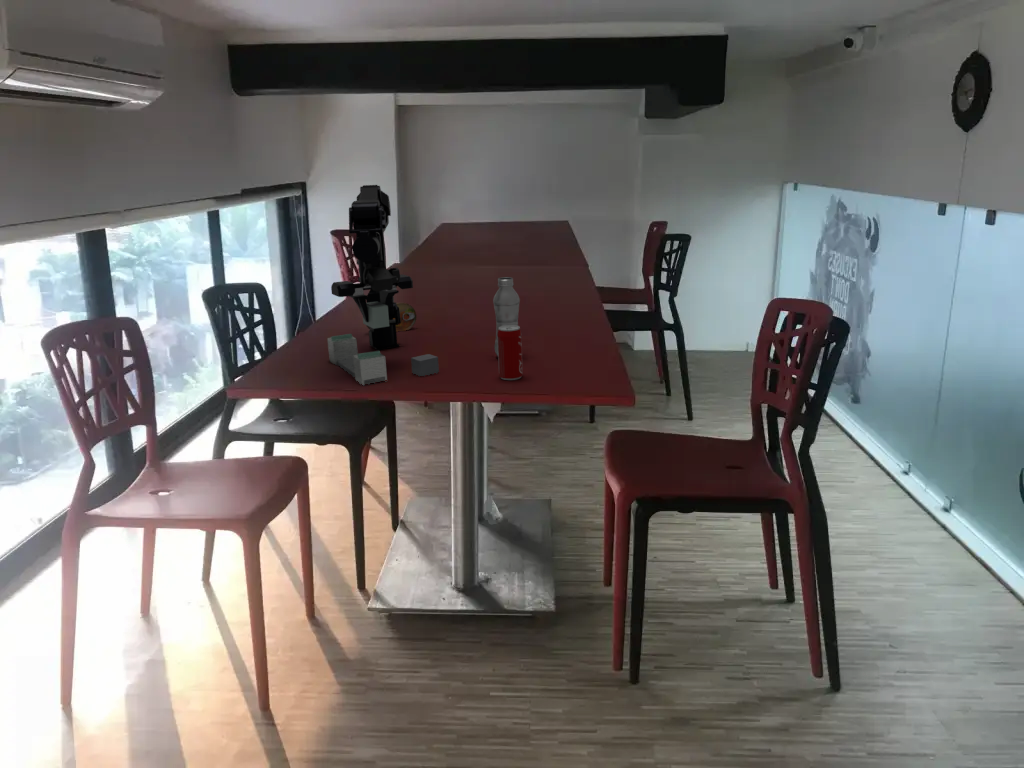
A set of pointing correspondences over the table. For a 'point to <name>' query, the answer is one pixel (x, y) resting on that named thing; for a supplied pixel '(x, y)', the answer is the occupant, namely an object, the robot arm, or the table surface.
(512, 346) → the soda can
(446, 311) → the table surface
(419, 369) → the block
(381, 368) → the rail
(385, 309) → the block
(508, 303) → the plastic bottle
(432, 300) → the table surface
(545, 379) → the table surface
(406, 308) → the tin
